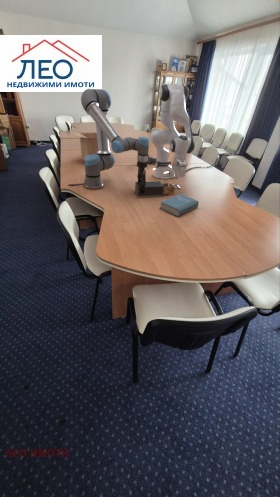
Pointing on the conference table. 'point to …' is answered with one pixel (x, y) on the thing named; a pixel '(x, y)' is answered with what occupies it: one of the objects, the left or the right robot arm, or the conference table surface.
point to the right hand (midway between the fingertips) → (176, 178)
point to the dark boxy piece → (150, 189)
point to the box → (87, 142)
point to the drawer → (170, 188)
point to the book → (179, 204)
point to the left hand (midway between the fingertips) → (140, 190)
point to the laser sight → (151, 160)
